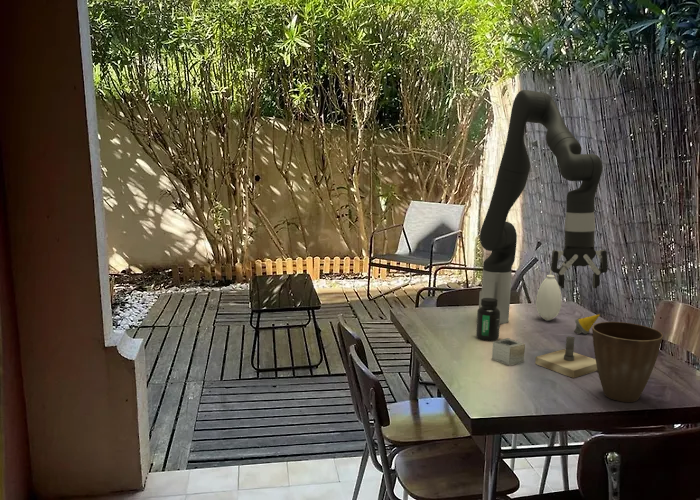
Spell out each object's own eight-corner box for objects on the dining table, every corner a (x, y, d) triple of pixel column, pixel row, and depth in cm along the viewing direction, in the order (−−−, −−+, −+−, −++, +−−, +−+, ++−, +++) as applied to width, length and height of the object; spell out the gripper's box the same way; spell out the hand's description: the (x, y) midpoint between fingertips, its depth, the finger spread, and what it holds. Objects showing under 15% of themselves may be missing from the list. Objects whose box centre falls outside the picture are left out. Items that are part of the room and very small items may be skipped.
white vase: (549, 324, 201) (553, 270, 198) (530, 318, 207) (533, 266, 204) (564, 320, 205) (568, 268, 202) (545, 315, 211) (549, 264, 208)
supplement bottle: (487, 342, 181) (489, 303, 179) (471, 336, 187) (473, 298, 185) (503, 339, 185) (505, 300, 183) (487, 333, 191) (489, 295, 189)
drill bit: (577, 330, 196) (603, 313, 191) (581, 341, 192) (607, 324, 187) (566, 321, 195) (592, 304, 190) (569, 332, 190) (596, 315, 185)
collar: (491, 359, 167) (492, 341, 166) (506, 355, 171) (507, 337, 170) (508, 365, 162) (509, 347, 162) (523, 361, 166) (525, 343, 165)
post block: (535, 363, 164) (537, 335, 162) (563, 355, 170) (565, 328, 169) (573, 378, 154) (575, 347, 153) (602, 369, 161) (604, 339, 159)
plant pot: (579, 382, 151) (584, 320, 149) (642, 385, 150) (648, 322, 147) (597, 407, 137) (603, 339, 134) (667, 411, 135) (674, 342, 133)
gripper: (603, 227, 167) (602, 285, 169) (549, 227, 169) (549, 285, 171) (611, 230, 160) (609, 290, 162) (554, 230, 162) (553, 290, 164)
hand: (578, 287), depth 167 cm, fingers open, 8 cm apart
